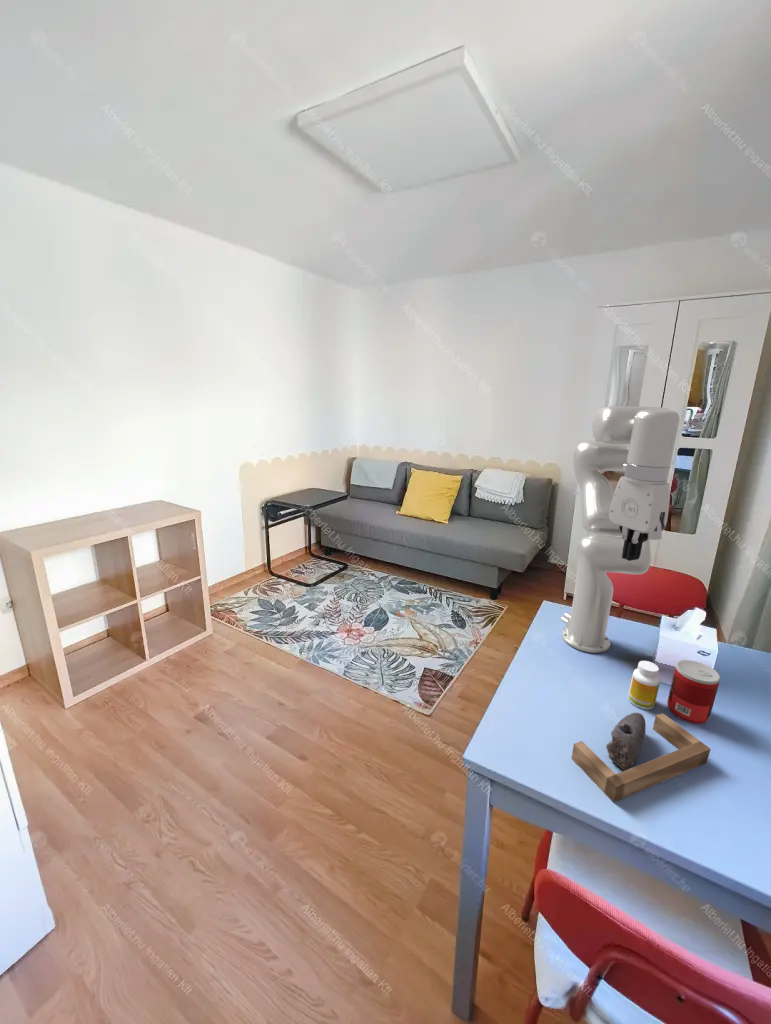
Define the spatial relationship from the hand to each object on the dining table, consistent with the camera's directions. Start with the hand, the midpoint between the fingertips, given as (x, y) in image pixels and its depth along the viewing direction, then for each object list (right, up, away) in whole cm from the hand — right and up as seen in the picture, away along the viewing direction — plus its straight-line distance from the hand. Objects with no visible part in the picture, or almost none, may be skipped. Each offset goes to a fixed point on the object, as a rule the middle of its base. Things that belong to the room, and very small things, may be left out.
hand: (630, 558), depth 92 cm
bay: (-2, -39, -7) cm, 39 cm away
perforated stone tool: (-3, -38, -4) cm, 39 cm away
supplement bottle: (+7, -34, +9) cm, 36 cm away
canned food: (+16, -35, +6) cm, 39 cm away
